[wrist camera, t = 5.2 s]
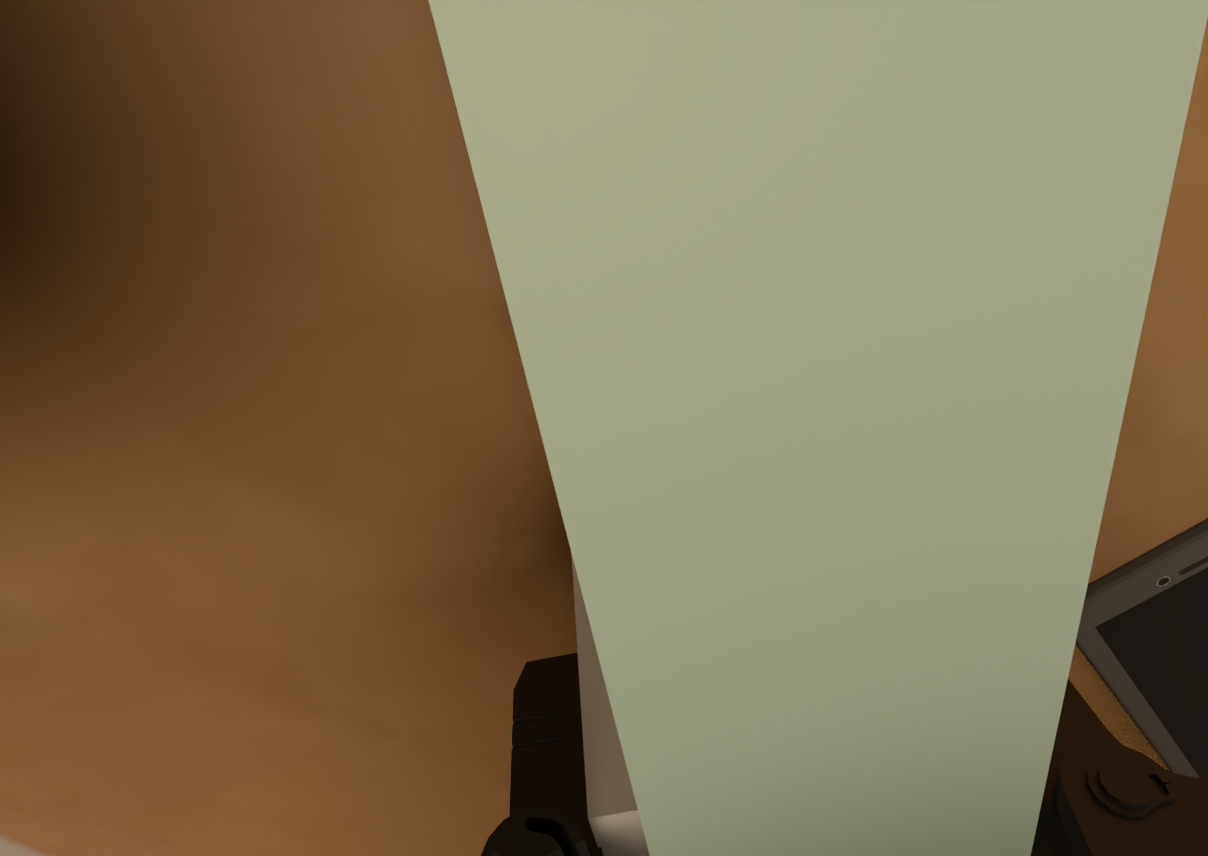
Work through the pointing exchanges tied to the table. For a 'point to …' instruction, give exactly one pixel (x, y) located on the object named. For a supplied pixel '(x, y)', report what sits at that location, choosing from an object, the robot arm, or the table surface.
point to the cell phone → (1157, 645)
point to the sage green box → (828, 378)
